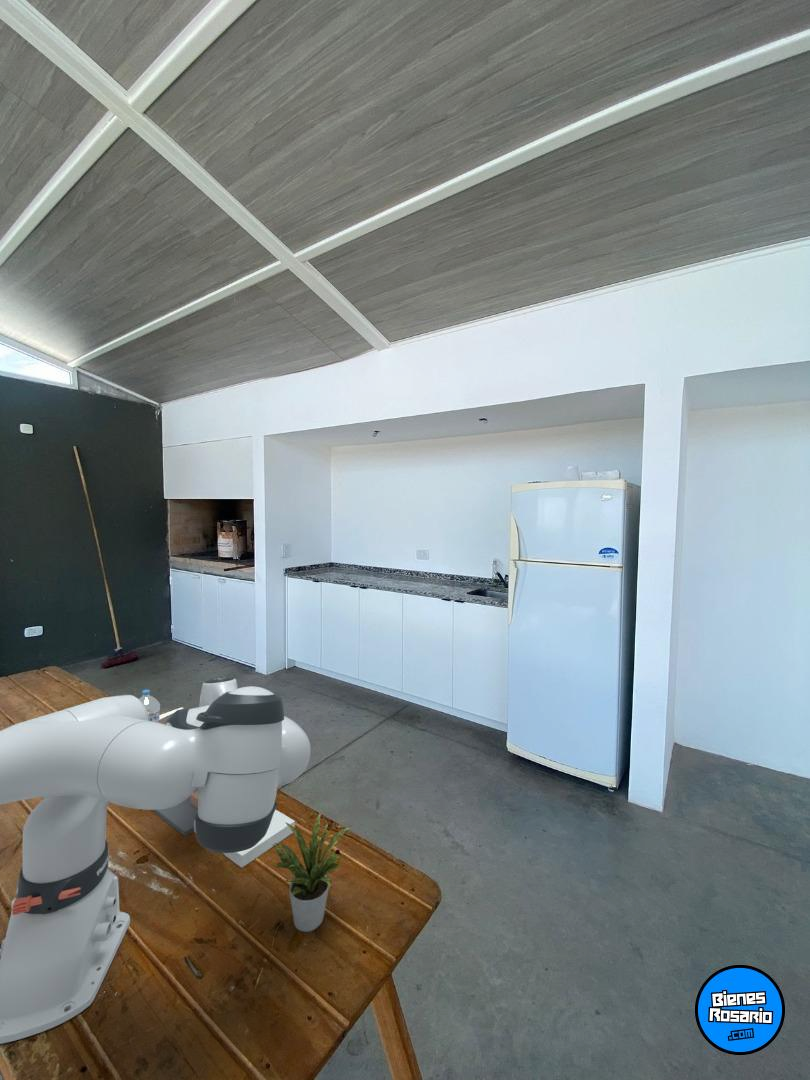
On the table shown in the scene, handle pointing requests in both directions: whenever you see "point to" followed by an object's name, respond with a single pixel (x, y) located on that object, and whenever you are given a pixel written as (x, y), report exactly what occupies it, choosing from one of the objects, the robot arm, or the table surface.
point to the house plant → (309, 876)
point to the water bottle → (151, 706)
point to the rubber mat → (180, 816)
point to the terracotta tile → (194, 798)
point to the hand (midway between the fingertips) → (217, 799)
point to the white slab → (264, 839)
